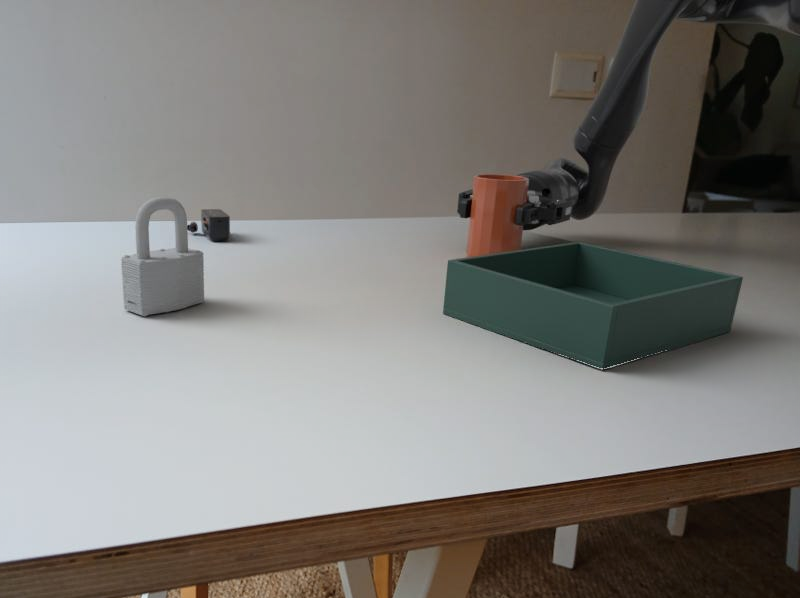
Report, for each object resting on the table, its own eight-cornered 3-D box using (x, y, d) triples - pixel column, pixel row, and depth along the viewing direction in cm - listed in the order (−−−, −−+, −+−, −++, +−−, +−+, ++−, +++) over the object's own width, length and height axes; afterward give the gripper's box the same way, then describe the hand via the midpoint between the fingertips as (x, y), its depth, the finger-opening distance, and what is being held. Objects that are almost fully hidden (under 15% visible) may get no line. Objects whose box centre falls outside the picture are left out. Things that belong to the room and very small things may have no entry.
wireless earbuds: (219, 231, 103) (219, 208, 102) (230, 241, 97) (230, 216, 96) (186, 232, 102) (185, 208, 101) (195, 242, 96) (195, 217, 95)
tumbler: (490, 251, 97) (499, 173, 93) (529, 261, 92) (540, 179, 88) (455, 256, 93) (463, 175, 90) (493, 266, 88) (503, 181, 85)
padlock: (182, 295, 72) (179, 191, 68) (209, 304, 69) (207, 196, 66) (119, 309, 67) (112, 197, 63) (145, 319, 64) (140, 203, 61)
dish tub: (571, 288, 80) (578, 241, 78) (730, 331, 67) (743, 276, 65) (442, 313, 69) (447, 260, 67) (602, 371, 56) (613, 306, 54)
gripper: (489, 166, 104) (438, 175, 91) (593, 175, 97) (554, 187, 84) (483, 219, 107) (433, 236, 94) (584, 232, 99) (545, 252, 86)
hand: (490, 212), depth 89 cm, fingers closed on tumbler, 6 cm apart
